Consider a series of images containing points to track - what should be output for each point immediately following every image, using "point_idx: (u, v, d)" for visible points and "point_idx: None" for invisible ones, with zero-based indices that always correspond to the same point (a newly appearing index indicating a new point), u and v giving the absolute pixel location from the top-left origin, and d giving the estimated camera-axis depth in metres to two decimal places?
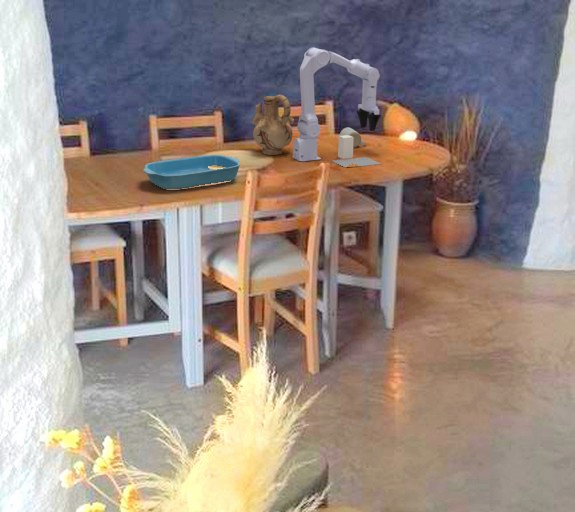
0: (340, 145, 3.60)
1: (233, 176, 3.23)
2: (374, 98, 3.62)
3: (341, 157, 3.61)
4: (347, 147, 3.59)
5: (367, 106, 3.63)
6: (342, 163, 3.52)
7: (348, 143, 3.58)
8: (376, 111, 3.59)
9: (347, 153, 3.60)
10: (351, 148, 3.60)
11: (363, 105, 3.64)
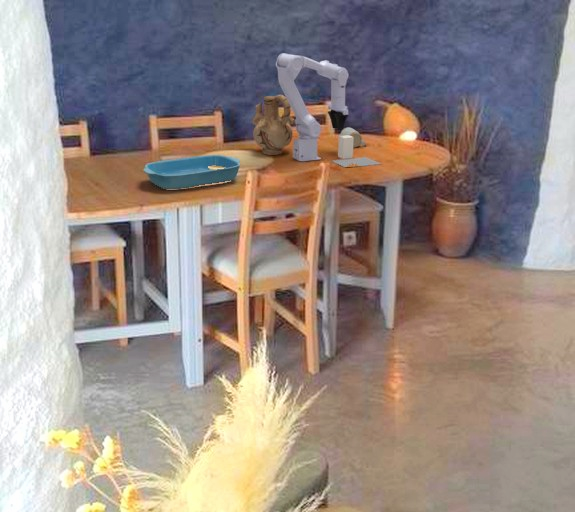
0: (340, 145, 3.60)
1: (233, 176, 3.23)
2: (343, 98, 3.60)
3: (341, 157, 3.61)
4: (347, 147, 3.59)
5: (336, 106, 3.60)
6: (342, 163, 3.52)
7: (348, 143, 3.58)
8: (345, 111, 3.57)
9: (347, 153, 3.60)
10: (351, 148, 3.60)
11: (332, 105, 3.61)
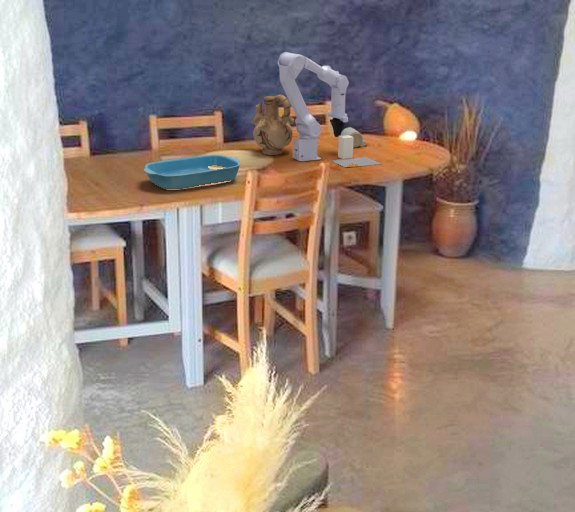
0: (340, 145, 3.60)
1: (233, 176, 3.23)
2: (343, 106, 3.60)
3: (341, 157, 3.61)
4: (347, 147, 3.59)
5: (336, 114, 3.61)
6: (342, 163, 3.52)
7: (348, 143, 3.58)
8: (345, 119, 3.57)
9: (347, 153, 3.60)
10: (351, 148, 3.60)
11: (332, 113, 3.62)
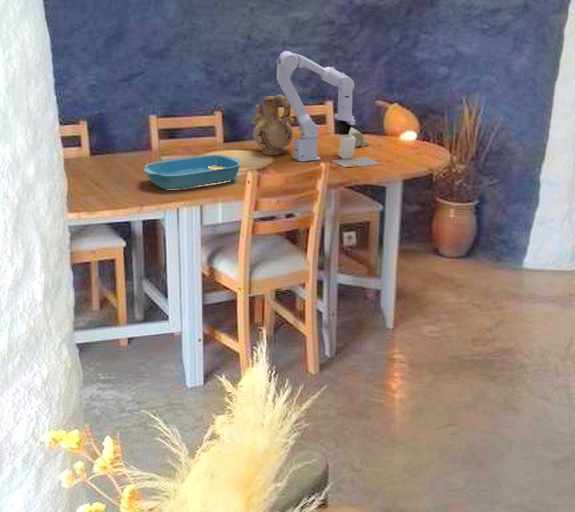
0: (341, 145, 3.59)
1: (233, 176, 3.23)
2: (350, 108, 3.55)
3: (341, 156, 3.61)
4: (348, 148, 3.58)
5: (343, 116, 3.56)
6: (342, 163, 3.52)
7: (349, 144, 3.57)
8: (352, 121, 3.52)
9: (348, 153, 3.59)
10: (352, 149, 3.59)
11: (339, 115, 3.57)
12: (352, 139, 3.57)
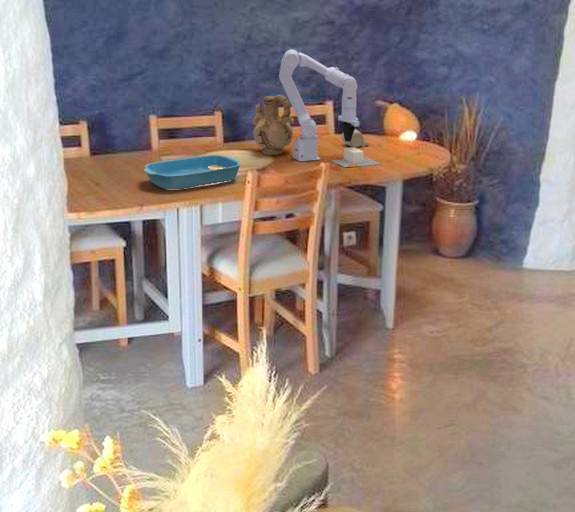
0: (349, 155, 3.54)
1: (233, 176, 3.23)
2: (354, 109, 3.52)
3: (343, 155, 3.59)
4: None
5: (347, 118, 3.53)
6: (342, 163, 3.52)
7: None
8: (356, 123, 3.49)
9: None
10: None
11: (343, 117, 3.54)
12: (359, 162, 3.53)
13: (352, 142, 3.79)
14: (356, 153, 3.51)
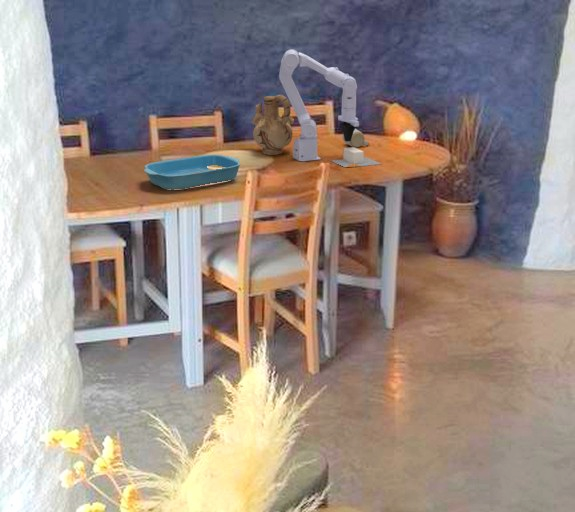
0: (349, 155, 3.54)
1: (234, 175, 3.24)
2: (354, 109, 3.52)
3: (343, 155, 3.59)
4: None
5: (347, 118, 3.53)
6: (342, 163, 3.52)
7: None
8: (356, 123, 3.49)
9: None
10: None
11: (342, 116, 3.54)
12: (359, 162, 3.53)
13: (353, 142, 3.79)
14: (356, 153, 3.51)
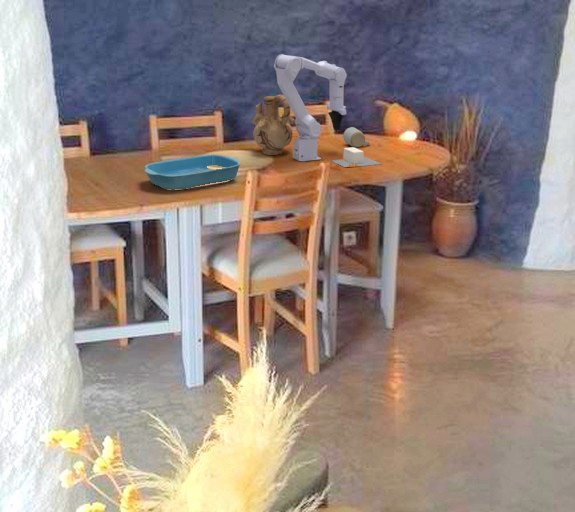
0: (349, 155, 3.54)
1: (234, 175, 3.24)
2: (341, 98, 3.60)
3: (343, 155, 3.59)
4: None
5: (334, 106, 3.60)
6: (342, 163, 3.52)
7: None
8: (343, 111, 3.56)
9: None
10: None
11: (330, 105, 3.61)
12: (359, 162, 3.53)
13: (353, 142, 3.79)
14: (356, 153, 3.51)
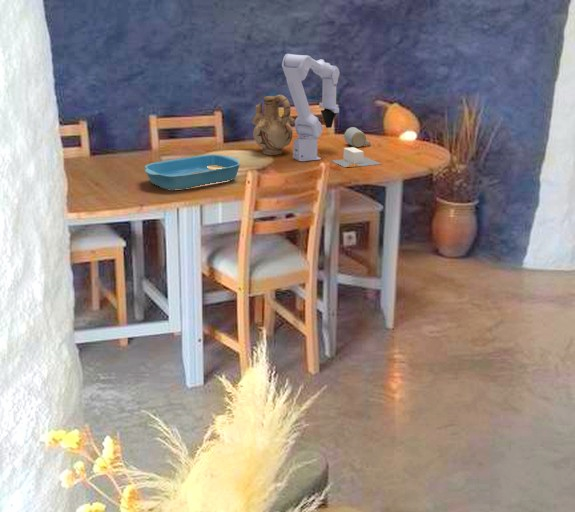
0: (349, 155, 3.54)
1: (234, 175, 3.24)
2: (334, 96, 3.63)
3: (343, 155, 3.59)
4: None
5: (327, 104, 3.64)
6: (342, 163, 3.52)
7: None
8: (336, 109, 3.60)
9: None
10: None
11: (323, 103, 3.65)
12: (359, 162, 3.53)
13: (354, 142, 3.79)
14: (356, 153, 3.51)
